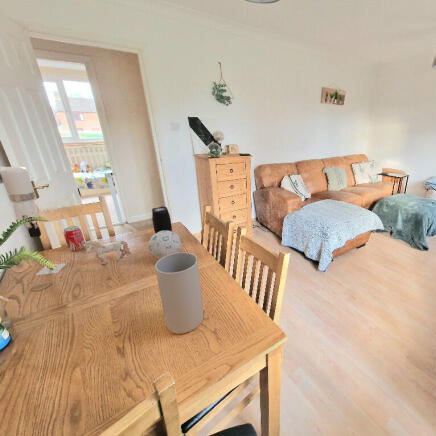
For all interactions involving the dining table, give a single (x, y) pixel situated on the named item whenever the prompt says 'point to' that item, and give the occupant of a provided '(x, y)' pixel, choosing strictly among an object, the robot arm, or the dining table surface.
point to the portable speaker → (161, 219)
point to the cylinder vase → (180, 291)
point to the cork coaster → (41, 286)
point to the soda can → (74, 238)
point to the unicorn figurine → (106, 249)
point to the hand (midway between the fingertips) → (36, 235)
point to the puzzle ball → (164, 244)
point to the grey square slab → (51, 269)
